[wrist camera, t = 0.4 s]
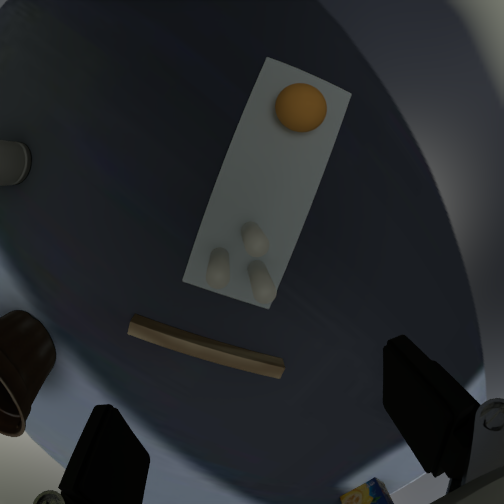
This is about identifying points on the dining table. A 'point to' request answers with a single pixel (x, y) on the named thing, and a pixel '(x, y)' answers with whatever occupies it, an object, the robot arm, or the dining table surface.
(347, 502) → the beverage box
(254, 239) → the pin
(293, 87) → the ball
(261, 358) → the back wall
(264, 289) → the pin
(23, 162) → the travel mug
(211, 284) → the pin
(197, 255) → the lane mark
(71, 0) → the dining table surface
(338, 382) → the dining table surface
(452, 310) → the dining table surface
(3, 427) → the plant pot
